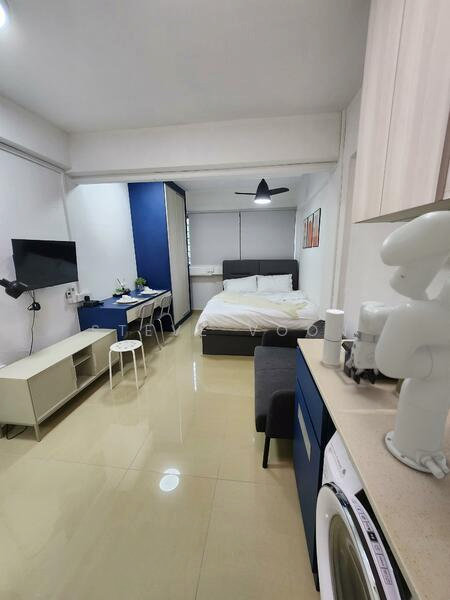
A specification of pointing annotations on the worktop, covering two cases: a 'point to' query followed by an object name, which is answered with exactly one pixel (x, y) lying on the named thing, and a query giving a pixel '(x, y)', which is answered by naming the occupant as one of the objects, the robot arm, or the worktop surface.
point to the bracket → (347, 357)
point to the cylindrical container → (333, 336)
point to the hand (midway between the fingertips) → (363, 381)
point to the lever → (364, 374)
